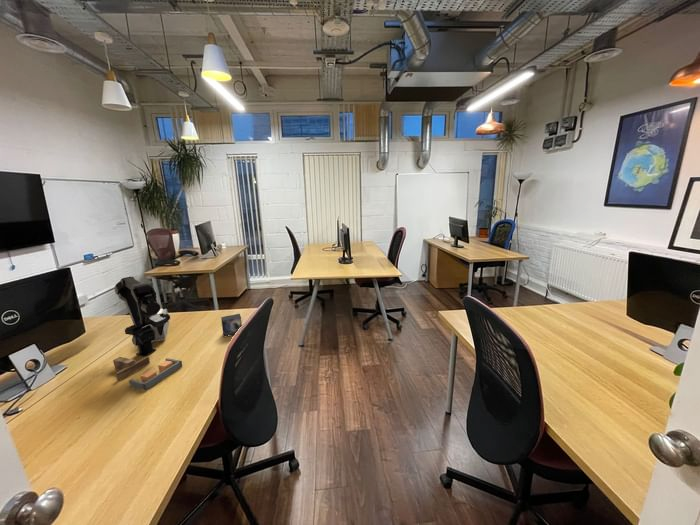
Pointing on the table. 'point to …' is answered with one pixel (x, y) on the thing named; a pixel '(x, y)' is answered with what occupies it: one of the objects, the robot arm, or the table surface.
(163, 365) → the orange cube
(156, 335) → the light grey rounded block
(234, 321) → the small box
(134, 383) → the tray
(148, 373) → the chip
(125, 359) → the brown angular piece
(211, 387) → the table surface
